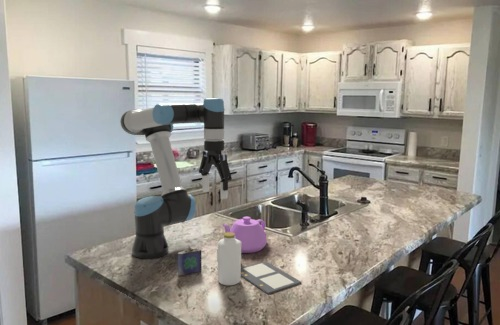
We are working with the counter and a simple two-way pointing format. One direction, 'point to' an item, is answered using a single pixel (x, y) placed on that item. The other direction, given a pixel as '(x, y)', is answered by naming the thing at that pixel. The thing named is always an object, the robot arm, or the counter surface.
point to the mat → (268, 277)
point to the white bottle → (229, 260)
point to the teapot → (249, 234)
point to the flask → (189, 261)
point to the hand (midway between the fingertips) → (214, 195)
